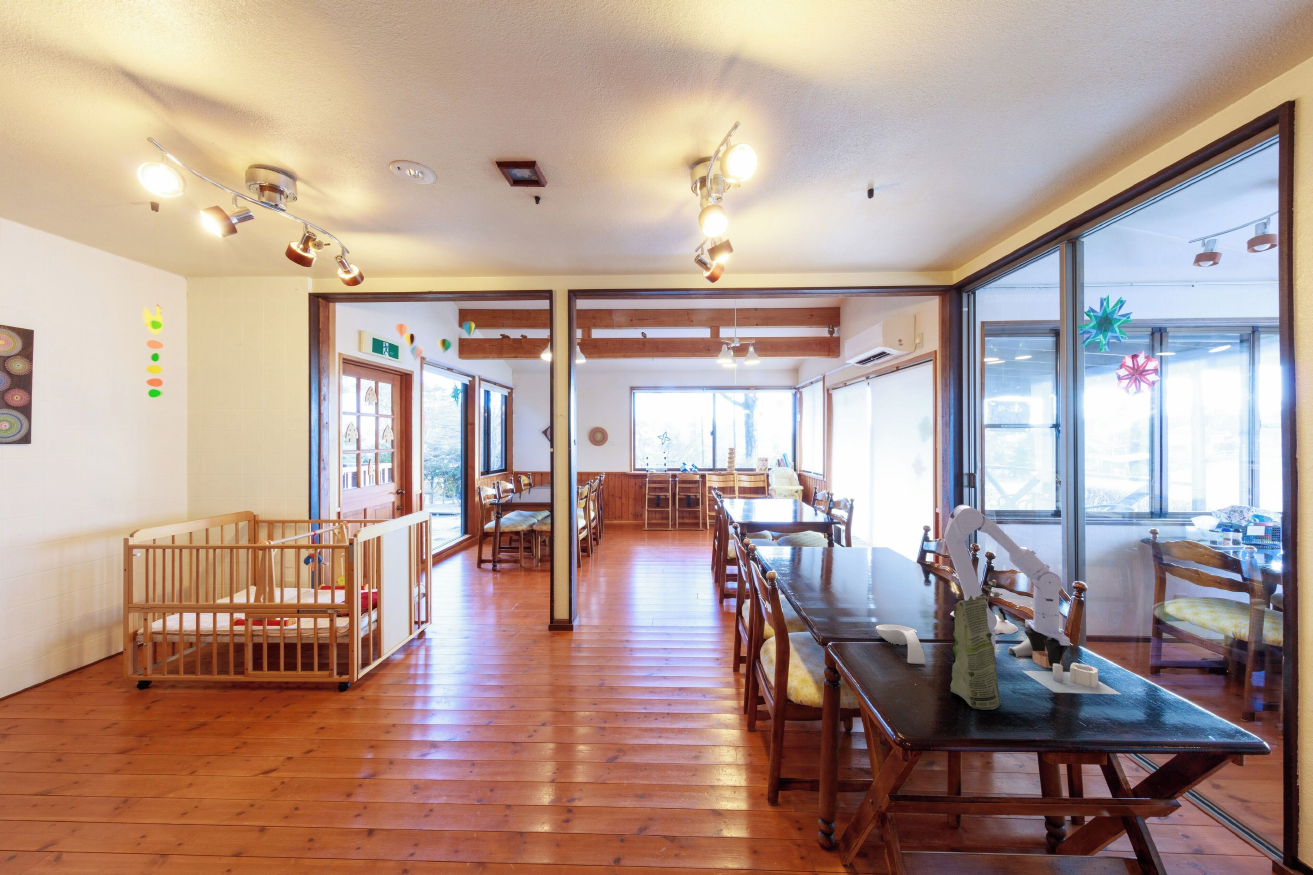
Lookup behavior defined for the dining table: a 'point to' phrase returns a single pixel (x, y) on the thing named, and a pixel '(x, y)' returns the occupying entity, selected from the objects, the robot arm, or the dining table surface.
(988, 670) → the pouch
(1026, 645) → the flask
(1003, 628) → the figurine
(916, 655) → the spoon rest
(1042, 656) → the gear
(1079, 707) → the dining table surface
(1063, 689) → the gear board
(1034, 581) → the robot arm
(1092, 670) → the gear
